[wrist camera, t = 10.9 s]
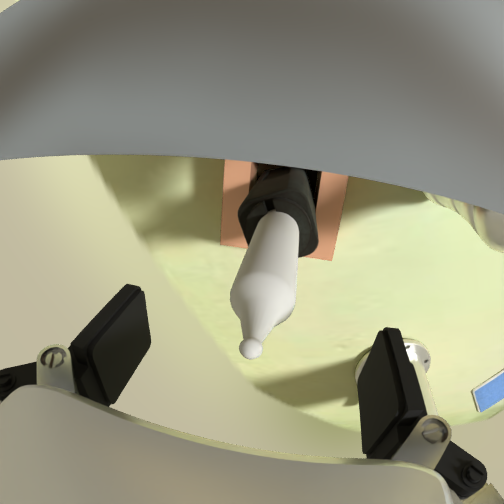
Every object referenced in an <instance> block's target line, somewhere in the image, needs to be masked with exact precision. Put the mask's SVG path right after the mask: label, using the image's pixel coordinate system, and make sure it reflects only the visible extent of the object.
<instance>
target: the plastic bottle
mask: <svg viewBox="0 0 504 504" xmlns="http://www.w3.org/2000/svg"><path fill="white" fill-rule="evenodd" d="M423 193H424V194H425V196H426V197H427V198H428V199H429V200H430V201H432V202H433V203H435V204H438V205H440V206H443V207H448V208H450V209H451V210H453V211H455V212H457V213H458V214H460V215H461V216H462V217H463V218H464V219H465V220H466V221H467V222H468V223H469V224H470V225H471V226H472V227H473V229H474V230H475V231H476V233H477V234H478V235H479V236H480V238H481V239H482V240H483V241H484V242H485V243H486V244H487V245H488V246H489V247H490V248H491V249H493V250H496V251H499V252H502V253H504V214H501V213H498V212H495V211H492V210H488V209H485V208H482V207H479V206H475V205H472V204H468V203H465V202H461V201H458V200H454V199H450V198H447V197H443V196H439V195H435V194H431V193H427V192H423Z"/></svg>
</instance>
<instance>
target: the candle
mask: <svg viewBox="0 0 504 504" xmlns="http://www.w3.org/2000/svg"><path fill="white" fill-rule="evenodd" d="M238 220H239V223H240V226H241V228H242V231H243V234H244V237H245V239H246V242H247V245H248V249H247V251H246V254H245V256H244V259H243V261H242V264H241V266H240V268H239V271H238V273H237V276H236V278H235V281H234V283H233V286H232V288H231V291H230V302H231V306H232V308H233V310H234V312H235V313H236V315H237V316H238V317H239V318H240V321H241V327H242V333H243V339H244V340H243V341H242V342H241V343H240V345H239V350H240V353H241V354H242V355H243V356H244V357H245V358H247V359H255V358H257V357H259V356H260V355H261V354H262V351H263V346H262V342H263V341H264V340H265V338H266V337H267V336H268V334H269V333H270V331H271V330H272V329H273V327H275V326H277V325H279V324H280V323H282V322H284V321H285V320H286V319H287V318H288V317H289V316H290V315H291V313H292V311H293V309H294V307H295V301H296V287H297V269H298V258H299V257H304V256H307V255H310V254H312V253H313V252H314V251H315V250H316V249H317V246H318V243H319V238H318V230H317V221H316V213H315V205H314V198H313V192H312V188H311V185H310V181H309V178H308V175H307V171H306V169H303V168H296V167H289V166H284V167H280V168H276V169H273V170H270V169H267V170H265V171H264V172H263V173H262V175H261V176H260V178H259V179H258V181H257V182H256V183H255V185H254V186H253V188H252V189H251V191H250V192H249V194H248V195H247V197H246V198H245V199H244V201H243V202H242V204H241V205H240V207H239V209H238Z"/></svg>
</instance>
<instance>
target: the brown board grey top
mask: <svg viewBox="0 0 504 504" xmlns="http://www.w3.org/2000/svg"><path fill="white" fill-rule="evenodd" d="M102 154H123V155H163V156H184V157H200V158H214V159H226V160H237V161H247V162H256V163H265V164H273V165H281V166H289V167H296V168H303V169H310V170H317V171H323V172H329V173H335V174H341V175H347V176H352V177H358V178H363V179H368V180H373V181H378V182H383V183H388V184H393V185H397V186H402V187H406V188H410V189H415V190H419V191H423V192H427V193H431V194H435V195H439V196H443V197H447V198H450V199H454V200H458V201H461V202H465V203H468V204H472V205H475V206H479V207H482V208H485V209H488V210H492V211H495V212H498V213H501V214H504V0H20V1H18V2H16V3H15V4H13V5H12V6H10V7H9V8H7V9H6V10H4V11H3V12H1V13H0V160H7V159H17V158H29V157H44V156H63V155H102Z"/></svg>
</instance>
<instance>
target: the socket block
mask: <svg viewBox="0 0 504 504" xmlns="http://www.w3.org/2000/svg"><path fill="white" fill-rule="evenodd" d="M257 170H258V163H256V162H247V161H237V160H226V159H225V166H224V182H223V200H222V219H221V240H220V245H227V246H234V247H241V248H248V245H247V242H246V239H245V237H244V234H243V231H242V228H241V226H240V223H239V220H238V209H239V207H240V205H241V204H242V202H243V201H244V199H245V198H246V197H247V195H248V194H249V192H250V191H251V189H252V188H253V186H254V185H255V183H256V181H257ZM347 182H348V176H347V175H341V174H335V173H329V172H323V171H318V174H317V181H316V188H315V194H314V205H315V213H316V221H317V230H318V238H319V243H318V246H317V249H316V250H315V251H314V252H313V253H312V254H310V255H307V256H304V257H309V258H316V259H322V260H329V261H332V258H333V254H334V249H335V244H336V240H337V235H338V230H339V225H340V220H341V215H342V210H343V204H344V199H345V193H346V188H347Z"/></svg>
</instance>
